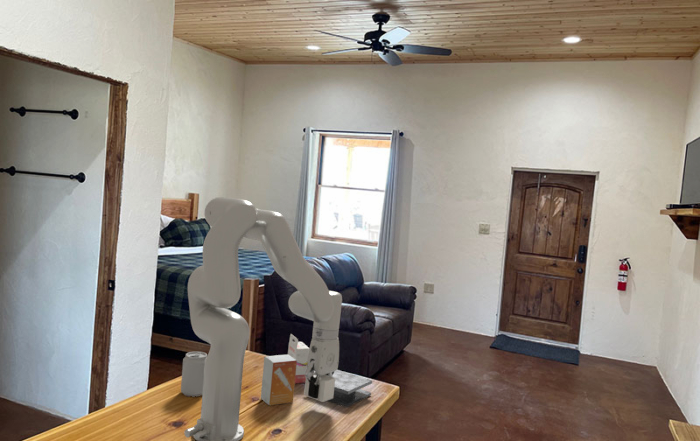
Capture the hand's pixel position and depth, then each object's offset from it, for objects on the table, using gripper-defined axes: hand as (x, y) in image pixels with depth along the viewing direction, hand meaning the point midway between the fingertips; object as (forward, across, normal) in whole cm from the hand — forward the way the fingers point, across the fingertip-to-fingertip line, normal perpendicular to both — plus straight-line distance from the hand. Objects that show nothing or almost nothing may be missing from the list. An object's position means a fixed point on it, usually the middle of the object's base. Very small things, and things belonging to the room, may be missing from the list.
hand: (318, 394), depth 160 cm
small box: (+5, -3, +13) cm, 14 cm away
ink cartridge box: (+5, +16, +21) cm, 27 cm away
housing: (+1, 0, 0) cm, 1 cm away
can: (+6, -17, +34) cm, 38 cm away
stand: (+4, +15, +3) cm, 16 cm away
